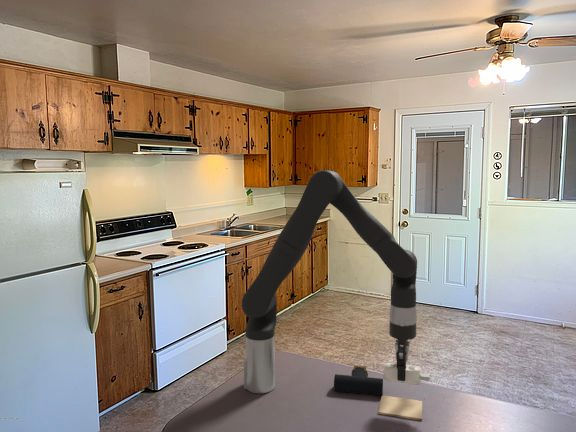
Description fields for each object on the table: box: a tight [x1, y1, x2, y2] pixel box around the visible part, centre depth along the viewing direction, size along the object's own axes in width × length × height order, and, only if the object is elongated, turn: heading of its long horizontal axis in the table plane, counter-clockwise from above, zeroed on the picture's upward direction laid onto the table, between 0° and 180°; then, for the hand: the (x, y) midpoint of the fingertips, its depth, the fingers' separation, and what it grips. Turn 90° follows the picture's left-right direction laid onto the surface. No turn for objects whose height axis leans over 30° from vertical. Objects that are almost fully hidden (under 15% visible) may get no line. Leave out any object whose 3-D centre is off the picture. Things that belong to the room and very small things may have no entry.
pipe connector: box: [333, 364, 384, 397], centre depth 144 cm, size 12×5×15 cm
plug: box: [383, 362, 431, 386], centre depth 130 cm, size 13×4×4 cm, turn 73°
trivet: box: [377, 394, 423, 422], centre depth 131 cm, size 12×10×1 cm
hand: (401, 377), depth 130 cm, fingers closed on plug, 3 cm apart
